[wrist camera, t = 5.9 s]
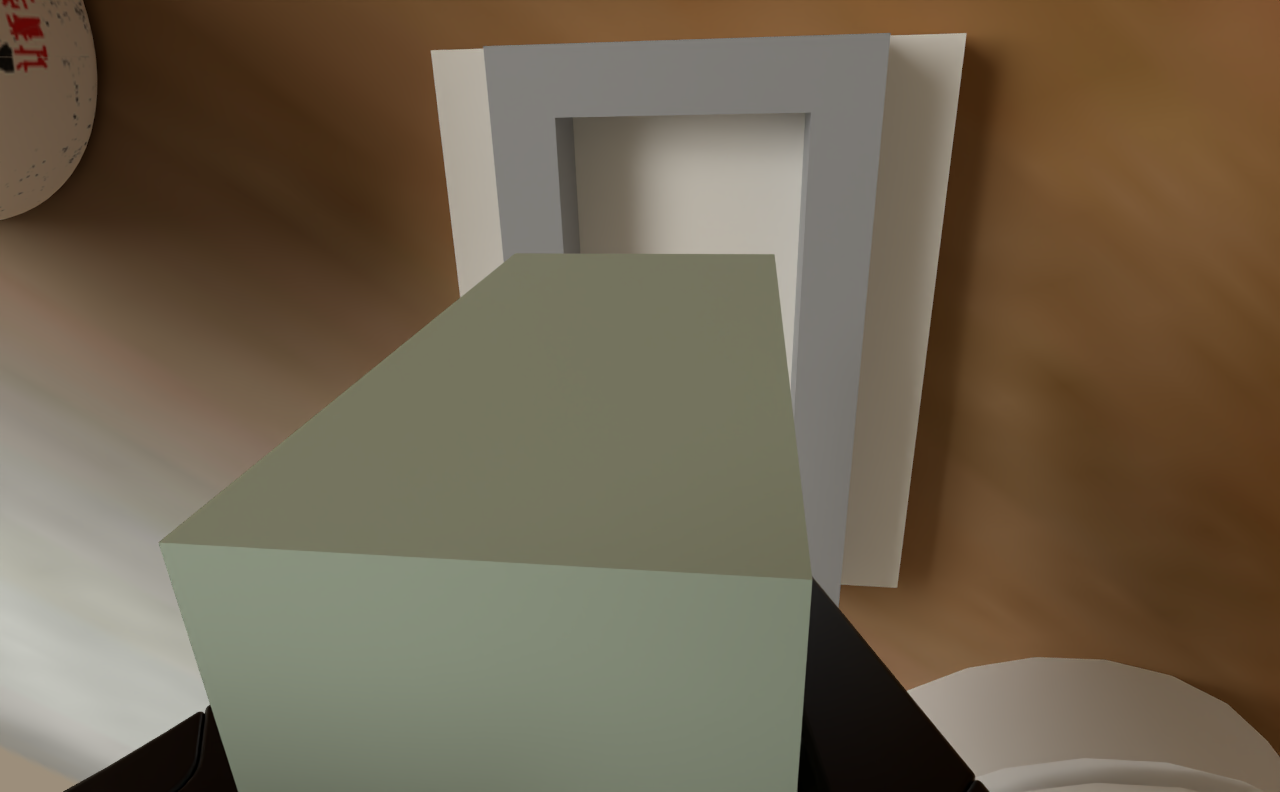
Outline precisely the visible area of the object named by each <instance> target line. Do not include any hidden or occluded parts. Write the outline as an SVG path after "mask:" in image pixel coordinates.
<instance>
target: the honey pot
mask: <svg viewBox="0 0 1280 792" xmlns="http://www.w3.org/2000/svg"><path fill="white" fill-rule="evenodd" d="M907 692H908V693H909V695H910V696H911V697H912V698H913V700H914V701H915V702H916V703H917V704H918V706H919V707H920V708H921V709H922V710H923V712H924V713H925V714H926V715H927V717H928V718H929V719H930V720H931V721H932V723H933V724H934V725H935V726H936V728H937V729H938V730H939V731H940V732H941V734H942V735H943V736H944V737H945V739H946V740H947V741H948V742H949V743H950V745H951V746H952V747H953V748H954V749H955V751H956V752H957V753H958V754H959V756H960V757H961V758H962V759H963V760H964V762H965V763H966V764H967V765H968V767H969V768H970V769H971V770H972V771H973V773H974V774H975V780H979V781H981V782H982V783H983V784H984V786H985V787H986V788H987V789H988V790H989V792H1280V757H1279V755H1278V754H1277V753H1276V751H1275V750H1274V749H1273V748H1272V746H1271V745H1270V744H1269V742H1268V741H1267V740H1266V739H1265V738H1264V737H1263V736H1262V735H1260V734H1259V733H1258V732H1257V731H1256V730H1255V729H1254V728H1253V727H1252V726H1251V725H1250V724H1249V723H1248V722H1246V721H1245V720H1244V719H1243V718H1242V717H1241V716H1240V715H1239V714H1238V713H1237V712H1236V711H1235V710H1234V709H1233V708H1231V707H1230V706H1229V705H1228V704H1227V703H1225V702H1223V701H1221V700H1219V699H1217V698H1215V697H1213V696H1211V695H1209V694H1207V693H1205V692H1203V691H1201V690H1199V689H1197V688H1195V687H1193V686H1191V685H1189V684H1187V683H1185V682H1183V681H1181V680H1179V679H1177V678H1175V677H1173V676H1171V675H1167V674H1163V673H1159V672H1155V671H1151V670H1146V669H1142V668H1138V667H1134V666H1130V665H1126V664H1122V663H1117V662H1113V661H1109V660H1102V659H1073V658H1045V657H1033V658H1027V659H1021V660H1015V661H1008V662H1002V663H996V664H990V665H983V666H977V667H971V668H966V669H964V670H961V671H958V672H956V673H953V674H950V675H948V676H945V677H942V678H940V679H937V680H934V681H932V682H929V683H926V684H924V685H921V686H918V687H916V688H913V689H910V690H908V691H907Z"/></svg>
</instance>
